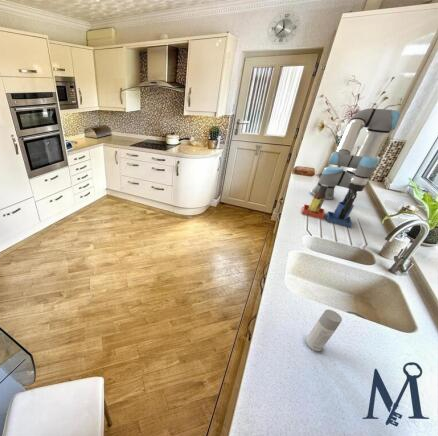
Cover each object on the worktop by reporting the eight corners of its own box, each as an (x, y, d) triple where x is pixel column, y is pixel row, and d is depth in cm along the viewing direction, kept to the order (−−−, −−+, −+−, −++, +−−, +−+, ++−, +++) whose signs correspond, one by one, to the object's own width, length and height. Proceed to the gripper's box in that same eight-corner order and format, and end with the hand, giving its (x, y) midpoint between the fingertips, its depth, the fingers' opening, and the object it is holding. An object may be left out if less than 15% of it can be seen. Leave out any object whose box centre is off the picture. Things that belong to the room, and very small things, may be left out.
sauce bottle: (316, 215, 157) (328, 188, 147) (306, 211, 161) (317, 185, 151) (319, 212, 161) (331, 185, 151) (309, 209, 165) (320, 182, 155)
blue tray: (326, 214, 160) (328, 211, 159) (348, 219, 155) (350, 216, 153) (326, 221, 151) (328, 218, 150) (349, 227, 146) (351, 224, 144)
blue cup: (332, 212, 156) (338, 200, 151) (346, 216, 152) (353, 203, 148) (333, 217, 150) (339, 204, 146) (347, 220, 147) (354, 208, 142)
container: (304, 336, 80) (322, 307, 73) (319, 341, 79) (340, 312, 71) (306, 348, 77) (326, 319, 69) (322, 354, 75) (344, 324, 68)
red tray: (302, 207, 168) (304, 204, 167) (322, 212, 163) (324, 209, 161) (301, 213, 160) (303, 210, 158) (322, 219, 154) (324, 216, 153)
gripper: (348, 177, 149) (332, 208, 160) (351, 186, 134) (333, 220, 145) (363, 180, 145) (346, 212, 157) (367, 190, 130) (348, 224, 142)
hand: (340, 216), depth 151 cm, fingers closed on blue cup, 8 cm apart
